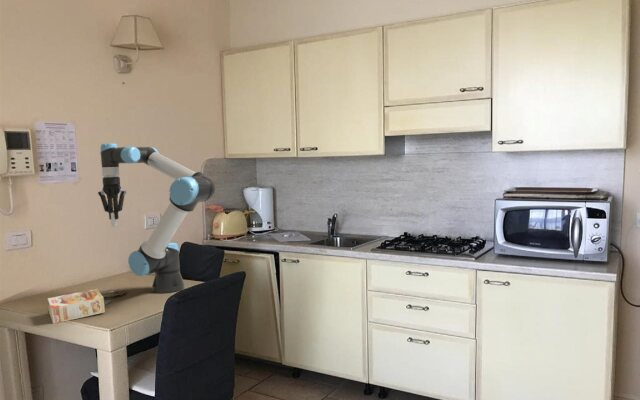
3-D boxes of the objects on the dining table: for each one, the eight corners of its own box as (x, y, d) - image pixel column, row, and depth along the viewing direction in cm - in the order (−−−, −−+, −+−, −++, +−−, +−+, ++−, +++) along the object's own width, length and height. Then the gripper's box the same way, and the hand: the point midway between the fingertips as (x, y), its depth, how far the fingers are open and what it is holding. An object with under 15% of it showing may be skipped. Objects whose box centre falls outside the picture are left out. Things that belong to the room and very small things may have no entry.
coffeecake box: (103, 296, 212) (50, 307, 202) (105, 313, 213) (52, 325, 203) (96, 287, 225) (46, 297, 214) (98, 303, 226) (49, 314, 216)
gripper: (127, 175, 246) (131, 224, 248) (101, 176, 247) (104, 225, 249) (121, 176, 239) (124, 227, 240) (93, 177, 239) (97, 227, 241)
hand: (114, 226), depth 245 cm, fingers closed
